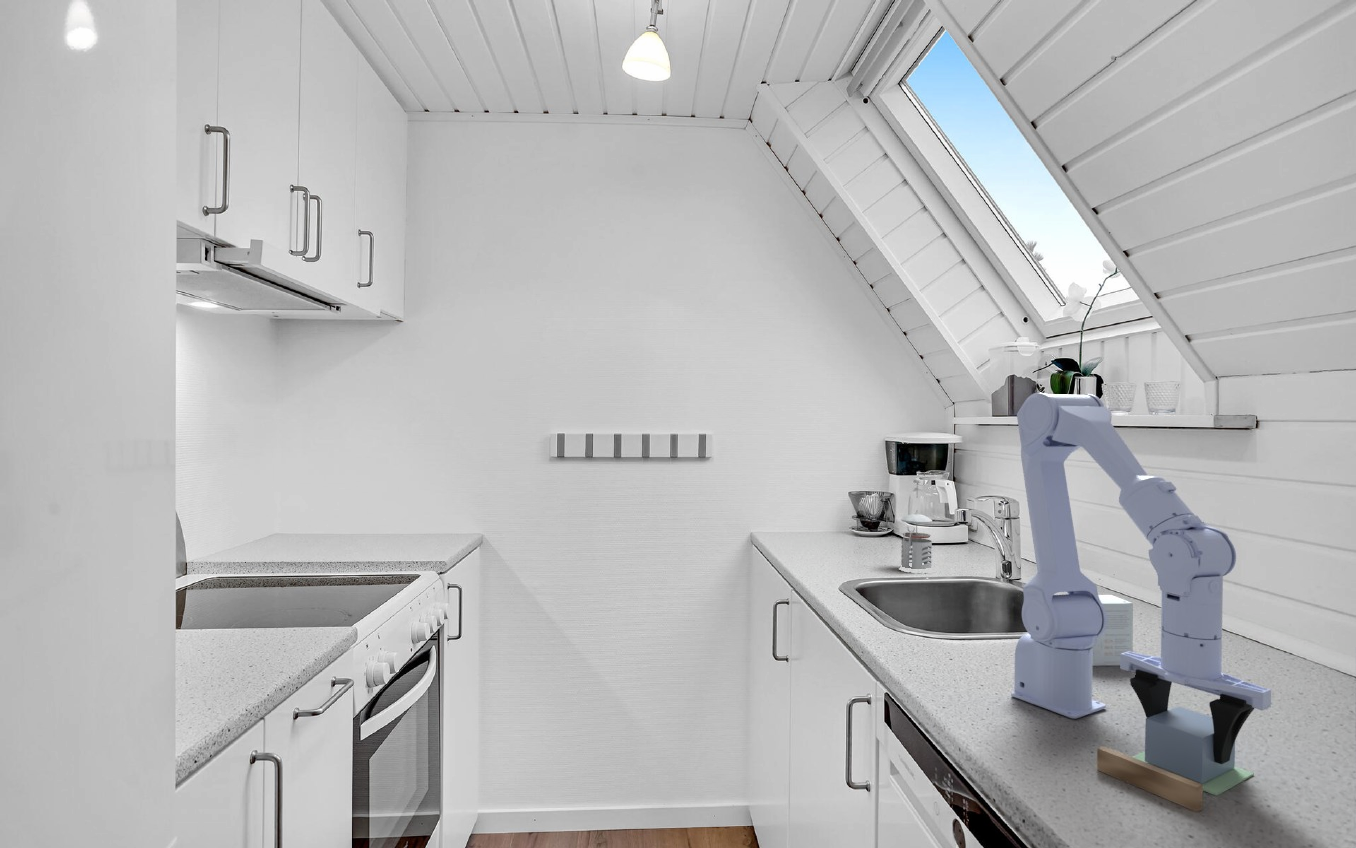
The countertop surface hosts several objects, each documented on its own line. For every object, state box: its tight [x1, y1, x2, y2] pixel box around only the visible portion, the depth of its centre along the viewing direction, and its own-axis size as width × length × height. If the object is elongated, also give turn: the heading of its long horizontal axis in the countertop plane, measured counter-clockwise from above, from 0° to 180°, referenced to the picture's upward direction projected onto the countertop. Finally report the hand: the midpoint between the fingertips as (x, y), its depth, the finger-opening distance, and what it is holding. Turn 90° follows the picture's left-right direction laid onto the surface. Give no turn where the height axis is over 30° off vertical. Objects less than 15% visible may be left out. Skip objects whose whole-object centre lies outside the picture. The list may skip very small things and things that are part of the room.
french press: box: [900, 477, 933, 569], centre depth 190 cm, size 10×12×25 cm
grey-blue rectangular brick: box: [1144, 706, 1236, 784], centre depth 81 cm, size 6×8×5 cm
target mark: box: [1132, 750, 1255, 796], centre depth 81 cm, size 9×9×1 cm
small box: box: [1093, 594, 1134, 667], centre depth 119 cm, size 8×6×10 cm
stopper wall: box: [1096, 745, 1203, 813], centre depth 77 cm, size 10×1×2 cm, turn 30°
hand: (1189, 749), depth 81 cm, fingers closed on grey-blue rectangular brick, 6 cm apart
